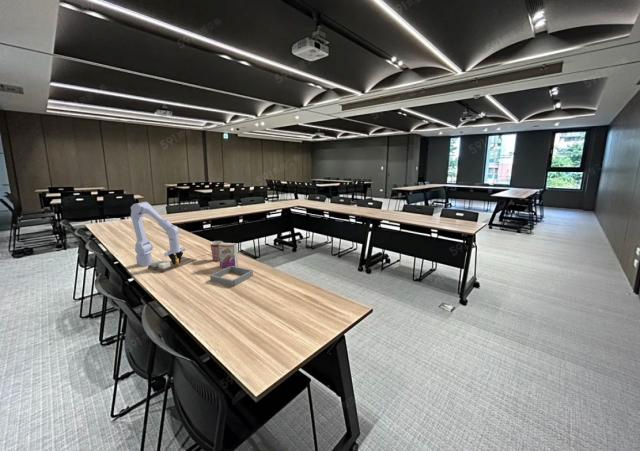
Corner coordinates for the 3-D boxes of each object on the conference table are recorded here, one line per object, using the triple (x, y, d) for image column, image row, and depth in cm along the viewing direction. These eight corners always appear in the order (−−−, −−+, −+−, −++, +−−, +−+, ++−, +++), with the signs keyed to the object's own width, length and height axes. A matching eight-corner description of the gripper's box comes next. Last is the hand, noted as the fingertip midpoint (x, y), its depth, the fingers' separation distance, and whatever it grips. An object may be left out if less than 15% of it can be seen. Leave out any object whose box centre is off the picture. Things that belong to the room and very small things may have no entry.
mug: (215, 263, 193) (214, 245, 190) (209, 260, 199) (207, 242, 196) (231, 258, 203) (230, 241, 200) (224, 256, 208) (223, 239, 205)
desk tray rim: (209, 281, 164) (209, 275, 163) (231, 270, 180) (231, 265, 179) (233, 286, 156) (233, 281, 155) (253, 275, 172) (253, 270, 172)
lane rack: (148, 270, 180) (147, 265, 179) (183, 258, 203) (182, 254, 202) (163, 274, 173) (162, 269, 173) (197, 261, 197) (197, 257, 196)
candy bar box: (219, 267, 185) (217, 244, 182) (222, 264, 190) (221, 242, 186) (235, 268, 184) (233, 245, 181) (238, 265, 189) (236, 243, 185)
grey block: (151, 268, 180) (150, 262, 179) (158, 266, 184) (157, 260, 183) (156, 269, 178) (155, 264, 177) (163, 267, 182) (162, 261, 181)
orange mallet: (158, 270, 177) (157, 262, 176) (176, 263, 188) (175, 257, 187) (163, 271, 175) (162, 264, 174) (181, 265, 186) (180, 258, 185)
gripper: (168, 247, 175) (170, 267, 178) (187, 242, 188) (189, 260, 191) (161, 246, 178) (163, 265, 181) (180, 241, 191) (182, 259, 193)
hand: (176, 263), depth 186 cm, fingers closed on orange mallet, 3 cm apart
